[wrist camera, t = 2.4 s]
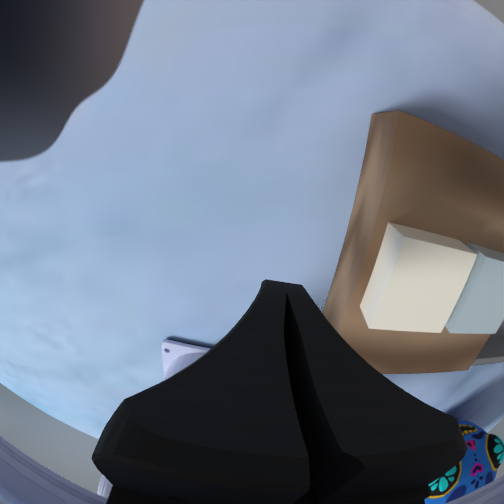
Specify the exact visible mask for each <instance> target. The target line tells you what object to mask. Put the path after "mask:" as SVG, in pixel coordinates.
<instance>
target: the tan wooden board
mask: <svg viewBox="0 0 504 504" xmlns="http://www.w3.org/2000/svg"><path fill="white" fill-rule="evenodd" d="M388 222H390V223H394V224H398V225H402V226H407V227H411V228H415V229H419V230H423V231H427V232H431V233H435V234H439V235H442V236H446V237H450V238H454V239H457V240H459V241H461V242H462V243H463V244H465V245H467V242H468V243H471V244H475V245H478V246H482V247H485V248H488V249H492V250H495V251H498V252H501V253H504V160H503V159H501V158H499V157H498V156H496V155H494V154H492V153H491V152H489V151H487V150H485V149H484V148H482V147H480V146H478V145H476V144H474V143H472V142H470V141H469V140H467V139H465V138H463V137H461V136H458V135H456V134H454V133H452V132H450V131H448V130H446V129H444V128H441V127H439V126H437V125H434V124H432V123H430V122H427V121H425V120H422V119H420V118H417V117H415V116H412V115H410V114H407V113H404V112H402V111H391V112H382V113H375V114H372V116H371V122H370V128H369V134H368V140H367V145H366V150H365V155H364V160H363V165H362V170H361V175H360V179H359V184H358V188H357V193H356V197H355V201H354V206H353V210H352V214H351V218H350V222H349V225H348V229H347V233H346V237H345V241H344V244H343V248H342V251H341V255H340V258H339V262H338V265H337V269H336V272H335V275H334V279H333V282H332V285H331V288H330V291H329V295H328V298H327V301H326V304H325V307H324V310H323V313H322V314H323V315H324V316H325V317H326V319H327V320H328V321H329V323H330V324H331V325H332V326H333V327H334V329H335V330H336V331H337V332H338V333H339V334H340V335H341V337H342V338H343V339H344V340H345V341H346V342H347V343H348V344H349V345H350V346H351V347H352V348H353V349H354V350H355V351H356V352H357V353H358V354H359V355H360V356H361V357H362V358H363V359H364V360H365V361H366V362H368V363H369V364H370V365H371V366H372V367H373V368H375V369H376V370H377V371H378V372H380V373H381V374H413V373H436V372H451V371H463V370H468V369H469V367H470V366H471V364H472V363H473V361H474V360H475V358H476V357H477V355H478V354H479V352H480V351H481V349H482V348H483V346H484V345H485V343H486V341H487V340H488V338H489V336H490V335H491V334H462V333H449V331H448V330H447V328H446V327H445V326H444V328H443V330H442V332H441V333H431V332H411V331H395V330H381V329H369V328H368V325H367V323H366V320H365V318H364V315H363V313H362V311H361V308H360V304H361V302H362V299H363V296H364V294H365V291H366V288H367V286H368V283H369V280H370V277H371V275H372V272H373V269H374V266H375V263H376V260H377V257H378V254H379V251H380V248H381V244H382V241H383V238H384V235H385V231H386V228H387V224H388Z"/></svg>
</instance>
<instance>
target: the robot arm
mask: <svg viewBox="0 0 504 504" xmlns="http://www.w3.org/2000/svg"><path fill="white" fill-rule="evenodd" d="M161 346H162V357H163V367H164V376H165V377H164V380H163V381H162V382H161V383H159V384H157V385H154V386H152V387H150V388H148V389H146V390H144V391H142V392H140V393H137V394H135V395H133V396H131V397H128V398H126V399H124V400H123V402H122V403H121V404H120V406H119V407H118V408H117V410H116V411H115V412H114V414H113V415H112V417H111V418H110V420H109V421H108V423H107V424H106V426H105V428H104V430H103V432H102V434H101V436H100V438H99V441H98V443H97V445H96V448H95V450H94V452H93V455H92V460H93V462H94V464H95V466H96V467H97V469H98V470H99V471H100V472H101V473H102V477H101V480H100V484H99V487H98V492H97V494H96V493H94V492H92V491H89V490H87V489H85V488H83V487H81V486H79V485H77V484H75V483H73V482H71V481H69V480H67V479H65V478H64V477H62V476H60V475H58V474H57V473H55V472H53V471H51V470H49V469H48V468H46V467H44V466H43V465H41V464H40V463H38V462H36V461H35V460H34V459H32V458H31V457H29V456H28V455H26V454H25V453H23V452H22V451H20V450H19V449H17V448H16V447H15V446H13V445H12V444H11V443H9V442H8V441H7V440H6V439H4V438H3V437H2V436H0V504H425V500H424V499H426V498H428V497H430V494H431V493H430V488H429V484H431V483H432V482H434V481H435V480H437V479H438V478H440V477H441V476H442V475H444V474H445V473H447V472H448V471H449V470H451V469H452V468H453V467H454V466H456V465H457V464H458V463H459V462H460V461H461V460H462V459H463V458H464V456H465V454H466V452H467V449H468V447H467V445H466V442H465V439H464V437H463V434H462V431H461V429H460V426H459V424H458V421H457V419H456V418H454V417H452V416H450V415H448V414H446V413H444V412H442V411H439V410H437V409H435V408H433V407H431V406H429V405H427V404H426V403H424V402H422V401H420V400H419V399H417V398H415V397H414V396H412V395H411V394H409V393H407V392H406V391H404V390H403V389H401V388H400V387H398V386H397V385H395V384H394V383H393V382H391V381H390V380H389V379H387V378H386V377H385V376H383V375H382V374H381V373H380V372H378V371H377V370H376V369H375V368H373V367H372V366H371V365H370V364H369V363H368V362H366V361H365V360H364V359H363V358H362V357H361V356H360V355H359V354H358V353H357V352H356V351H355V350H354V349H353V348H352V347H351V346H350V345H349V344H348V343H347V342H346V341H345V340H344V339H343V338H342V337H341V335H340V334H339V333H338V332H337V331H336V330H335V329H334V327H333V326H332V325H331V324H330V323H329V321H328V320H327V319H326V317H325V316H324V315H323V314H322V312H321V311H320V310H319V308H318V307H317V305H316V304H315V303H314V301H313V300H312V298H311V297H310V296H309V294H308V293H307V291H306V290H305V288H304V287H303V286H302V285H299V284H292V283H285V282H279V281H272V280H264V281H263V282H262V284H261V288H260V290H259V293H258V294H257V296H256V298H255V300H254V301H253V303H252V304H251V306H250V307H249V309H248V310H247V312H246V313H245V314H244V315H243V317H242V318H241V319H240V320H239V321H238V323H237V324H236V325H235V326H234V327H233V328H232V329H231V331H230V332H229V333H228V334H227V335H226V336H225V337H224V338H223V339H221V340H220V341H219V342H218V343H217V344H216V345H215V346H214V347H212V348H211V349H210V348H205V347H200V346H195V345H190V344H185V343H181V342H176V341H172V340H163V342H162V344H161ZM168 349H169V350H168ZM445 504H504V475H503V476H501V477H500V478H498V479H496V480H494V481H493V482H491V483H489V484H487V485H485V486H483V487H481V488H479V489H477V490H475V491H473V492H471V493H469V494H467V495H464V496H462V497H460V498H457V499H455V500H453V501H450V502H448V503H445Z"/></svg>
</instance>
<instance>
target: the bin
mask: <svg viewBox="0 0 504 504" xmlns="http://www.w3.org/2000/svg"><path fill="white" fill-rule="evenodd" d="M499 362H504V320H503V321H502V323H501V325H500V327H499V328H498V330H497V332H496V334H491V335H490V336H489V338H488V340H487V341H486V343H485V345H484V346H483V348H482V349H481V351H480V352H479V354H478V355H477V357H476V358H475V360H474V361H473V363H472V364H471V366H473V365H483V364H491V363H499Z"/></svg>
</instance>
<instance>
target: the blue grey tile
mask: <svg viewBox="0 0 504 504" xmlns="http://www.w3.org/2000/svg"><path fill="white" fill-rule="evenodd" d="M466 246H467V247H469V248H470V249H471V250H472V251H474V252H475V253H476V254H477V257H476V260H475V262H474V265H473V267H472V270H471V272H470V274H469V277H468V279H467V281H466V284H465V286H464V288H463V290H462V292H461V295H460V297H459V299H458V301H457V303H456V305H455V307H454V309H453V311H452V313H451V315H450V317H449V319H448V321H447V322H446V324H445V327H446V328H447V330H448V331H449V333H462V334H496V332H497V330H498V328H499V327H500V325H501V323H502V321H503V320H504V253H501V252H498V251H495V250H492V249H488V248H485V247H482V246H478V245H475V244H471V243H468V242H467V245H466Z"/></svg>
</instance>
